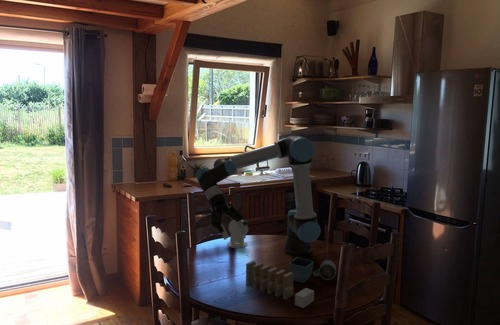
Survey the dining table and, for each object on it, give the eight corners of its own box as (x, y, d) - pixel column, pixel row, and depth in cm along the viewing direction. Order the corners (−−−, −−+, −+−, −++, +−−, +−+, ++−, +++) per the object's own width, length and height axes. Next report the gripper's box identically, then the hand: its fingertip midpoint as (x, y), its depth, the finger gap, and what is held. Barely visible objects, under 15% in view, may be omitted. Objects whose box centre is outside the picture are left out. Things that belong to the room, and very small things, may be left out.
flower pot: (305, 286, 182) (306, 267, 181) (288, 281, 187) (288, 262, 185) (313, 279, 189) (314, 260, 188) (296, 275, 194) (296, 257, 193)
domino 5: (275, 295, 173) (275, 273, 171) (281, 291, 176) (282, 269, 175) (278, 296, 172) (278, 274, 170) (284, 292, 175) (285, 270, 174)
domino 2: (252, 287, 180) (253, 265, 179) (259, 283, 184) (260, 262, 183) (255, 288, 179) (256, 266, 178) (262, 284, 183) (263, 263, 182)
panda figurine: (252, 243, 238) (252, 218, 236) (241, 249, 228) (241, 223, 226) (234, 240, 244) (234, 215, 242) (223, 245, 234) (224, 220, 232)
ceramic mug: (335, 274, 196) (335, 258, 195) (335, 281, 188) (335, 265, 187) (313, 272, 198) (313, 257, 197) (312, 279, 190) (312, 263, 189)
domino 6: (282, 298, 170) (283, 275, 169) (289, 294, 174) (290, 272, 173) (286, 299, 169) (286, 276, 168) (292, 295, 173) (293, 273, 172)
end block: (294, 304, 165) (295, 294, 164) (305, 298, 171) (305, 287, 170) (303, 308, 162) (303, 297, 162) (313, 300, 168) (314, 290, 168)
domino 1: (245, 285, 183) (246, 263, 181) (252, 281, 186) (253, 260, 185) (248, 286, 182) (248, 264, 180) (255, 282, 185) (255, 261, 184)
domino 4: (267, 292, 175) (267, 270, 174) (274, 289, 179) (274, 267, 178) (270, 294, 174) (270, 271, 173) (277, 290, 178) (277, 268, 177)
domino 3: (260, 290, 178) (260, 268, 176) (266, 286, 181) (267, 264, 180) (263, 291, 177) (263, 269, 175) (269, 287, 180) (270, 265, 179)
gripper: (226, 198, 208) (246, 235, 201) (192, 204, 188) (213, 244, 181) (236, 190, 204) (257, 227, 197) (202, 195, 184) (224, 236, 177)
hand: (236, 235), depth 189 cm, fingers open, 13 cm apart
